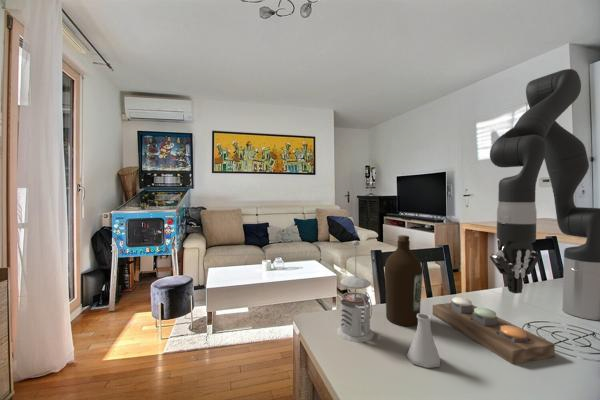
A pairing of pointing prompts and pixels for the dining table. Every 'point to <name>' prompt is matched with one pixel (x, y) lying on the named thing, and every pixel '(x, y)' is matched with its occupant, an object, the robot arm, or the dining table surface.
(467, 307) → the button cream
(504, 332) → the button orange
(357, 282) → the french press
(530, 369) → the dining table surface
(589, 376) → the dining table surface
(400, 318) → the olive oil
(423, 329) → the flask
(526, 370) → the dining table surface
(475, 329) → the console
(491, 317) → the button sage
